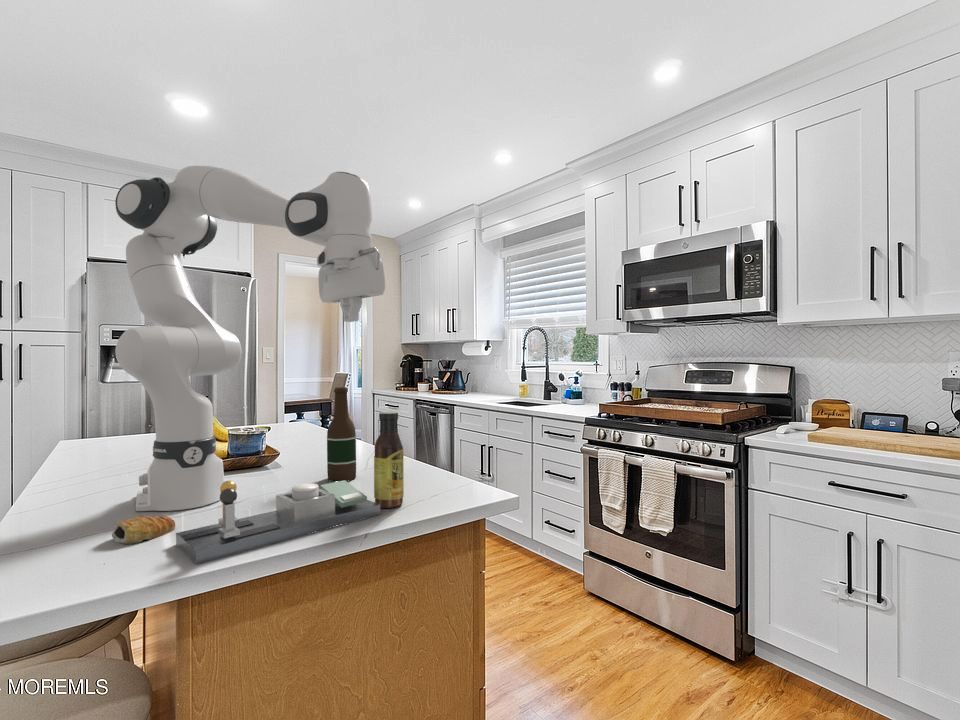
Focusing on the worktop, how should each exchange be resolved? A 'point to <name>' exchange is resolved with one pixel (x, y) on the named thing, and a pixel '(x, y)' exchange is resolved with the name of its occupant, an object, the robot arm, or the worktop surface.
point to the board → (273, 526)
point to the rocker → (344, 493)
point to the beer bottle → (341, 441)
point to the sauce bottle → (388, 463)
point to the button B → (305, 491)
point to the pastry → (142, 529)
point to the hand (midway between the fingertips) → (351, 321)
